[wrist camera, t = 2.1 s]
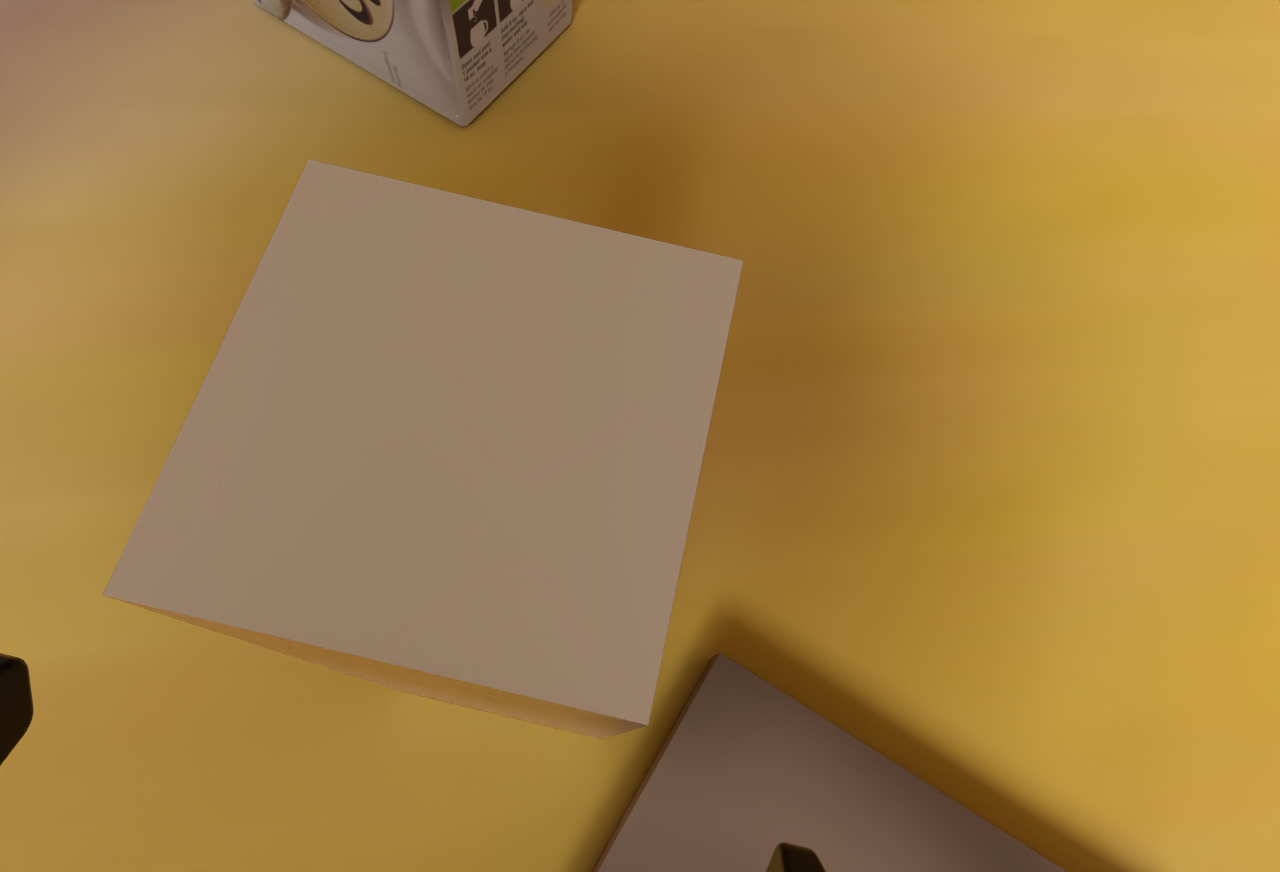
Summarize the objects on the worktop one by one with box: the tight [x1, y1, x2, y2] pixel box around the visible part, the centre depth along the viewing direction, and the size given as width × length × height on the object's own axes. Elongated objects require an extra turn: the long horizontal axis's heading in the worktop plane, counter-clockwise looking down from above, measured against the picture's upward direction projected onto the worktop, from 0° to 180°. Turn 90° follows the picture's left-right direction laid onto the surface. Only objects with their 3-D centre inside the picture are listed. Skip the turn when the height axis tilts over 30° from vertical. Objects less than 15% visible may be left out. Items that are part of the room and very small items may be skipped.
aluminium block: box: [103, 159, 743, 739], centre depth 14 cm, size 5×5×13 cm
